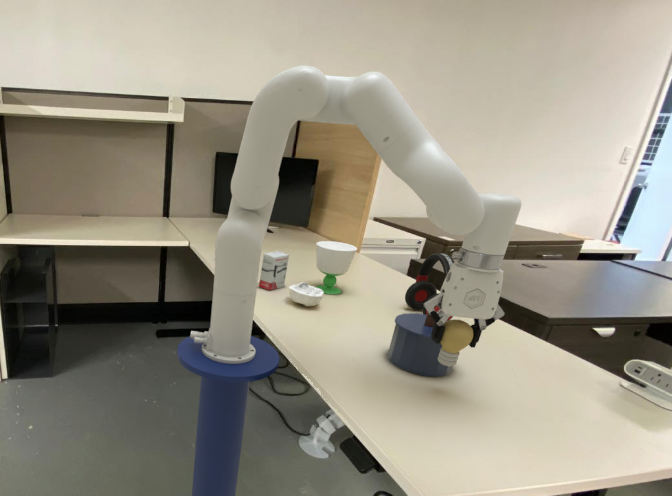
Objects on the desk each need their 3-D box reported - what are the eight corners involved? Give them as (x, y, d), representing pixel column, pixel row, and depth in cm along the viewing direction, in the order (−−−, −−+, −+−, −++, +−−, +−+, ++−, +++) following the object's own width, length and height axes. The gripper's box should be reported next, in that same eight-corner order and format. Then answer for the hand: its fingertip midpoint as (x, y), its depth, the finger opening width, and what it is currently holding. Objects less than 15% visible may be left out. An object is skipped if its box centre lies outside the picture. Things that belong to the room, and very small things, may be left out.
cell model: (300, 312, 142) (304, 291, 139) (281, 298, 152) (284, 278, 149) (328, 310, 145) (332, 289, 142) (307, 297, 155) (311, 277, 152)
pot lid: (404, 339, 105) (409, 320, 103) (387, 314, 119) (391, 297, 117) (475, 346, 104) (481, 328, 102) (449, 321, 118) (454, 304, 116)
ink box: (269, 291, 158) (274, 256, 153) (258, 286, 161) (262, 253, 157) (284, 286, 164) (289, 253, 159) (273, 283, 167) (278, 250, 162)
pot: (396, 372, 109) (406, 336, 105) (381, 346, 122) (390, 313, 118) (460, 380, 108) (472, 343, 104) (438, 352, 122) (448, 319, 118)
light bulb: (448, 356, 104) (462, 314, 100) (469, 370, 98) (484, 326, 94) (423, 357, 102) (436, 315, 98) (442, 371, 97) (457, 327, 93)
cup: (356, 293, 163) (365, 249, 156) (329, 298, 156) (338, 252, 149) (326, 282, 173) (334, 239, 166) (300, 286, 166) (307, 242, 159)
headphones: (398, 306, 154) (414, 246, 146) (427, 307, 155) (444, 248, 146) (423, 327, 138) (442, 261, 130) (455, 328, 139) (476, 263, 130)
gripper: (441, 260, 88) (416, 346, 95) (535, 269, 87) (503, 355, 94) (428, 251, 95) (405, 331, 102) (515, 259, 94) (486, 340, 101)
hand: (452, 342), depth 98 cm, fingers closed on light bulb, 6 cm apart
